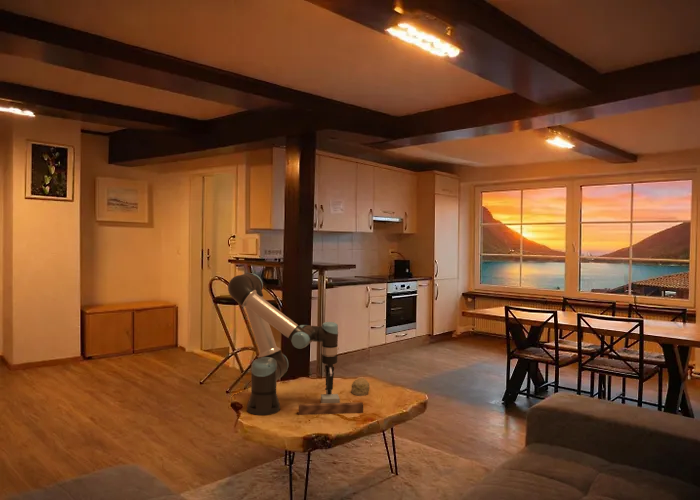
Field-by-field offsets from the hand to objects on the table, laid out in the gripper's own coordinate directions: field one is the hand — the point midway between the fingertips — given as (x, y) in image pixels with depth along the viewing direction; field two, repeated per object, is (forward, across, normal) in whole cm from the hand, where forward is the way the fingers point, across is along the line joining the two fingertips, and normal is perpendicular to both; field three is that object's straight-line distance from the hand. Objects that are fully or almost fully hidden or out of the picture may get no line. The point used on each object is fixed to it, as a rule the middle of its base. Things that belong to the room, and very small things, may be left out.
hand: (328, 401), depth 259 cm
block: (+1, -6, 0) cm, 6 cm away
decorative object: (+3, +16, -19) cm, 25 cm away
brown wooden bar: (+1, -11, 0) cm, 11 cm away
